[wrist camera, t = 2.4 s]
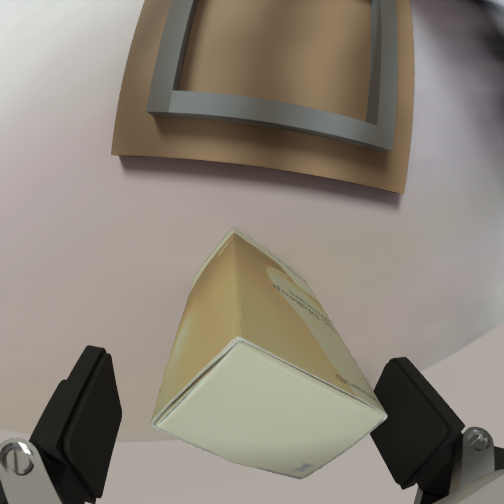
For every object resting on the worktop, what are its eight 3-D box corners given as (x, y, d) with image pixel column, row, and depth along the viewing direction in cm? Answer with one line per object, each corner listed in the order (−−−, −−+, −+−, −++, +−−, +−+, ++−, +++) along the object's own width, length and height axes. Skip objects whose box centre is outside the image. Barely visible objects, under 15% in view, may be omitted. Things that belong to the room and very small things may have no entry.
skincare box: (308, 280, 19) (399, 417, 7) (266, 327, 20) (307, 483, 8) (229, 221, 17) (238, 333, 6) (188, 276, 18) (145, 431, 6)
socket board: (400, -12, 13) (416, -24, 10) (394, 192, 18) (416, 197, 15) (174, -56, 11) (170, -76, 8) (118, 155, 16) (100, 154, 13)
